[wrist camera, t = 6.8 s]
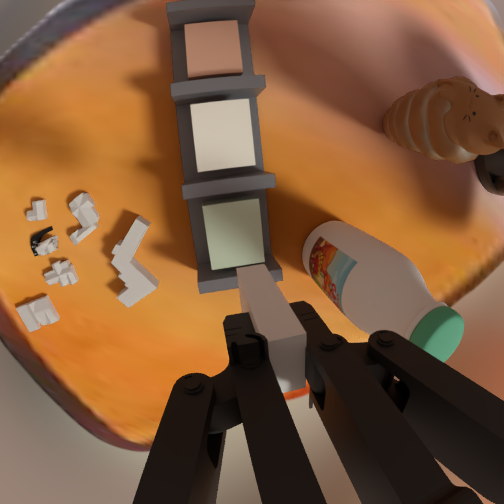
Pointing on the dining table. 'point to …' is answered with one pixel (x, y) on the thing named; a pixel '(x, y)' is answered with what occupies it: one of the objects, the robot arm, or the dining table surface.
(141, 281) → the white puzzle pieces
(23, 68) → the dining table surface
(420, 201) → the dining table surface
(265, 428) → the robot arm
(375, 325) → the milk bottle
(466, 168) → the dining table surface
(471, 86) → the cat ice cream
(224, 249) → the sage key
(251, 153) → the cream key
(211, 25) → the brown flat block
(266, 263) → the keypad
